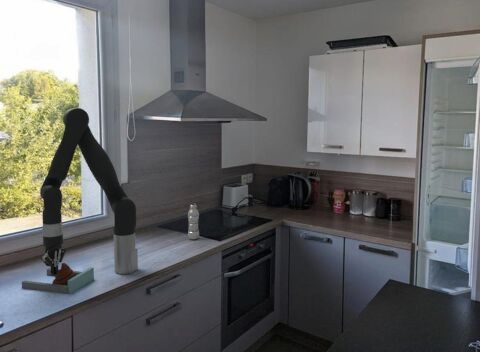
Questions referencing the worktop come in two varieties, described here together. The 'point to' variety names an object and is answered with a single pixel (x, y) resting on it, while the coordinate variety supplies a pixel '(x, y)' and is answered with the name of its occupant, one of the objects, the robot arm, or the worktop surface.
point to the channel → (73, 285)
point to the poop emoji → (64, 275)
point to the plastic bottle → (193, 222)
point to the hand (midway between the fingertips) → (54, 274)
